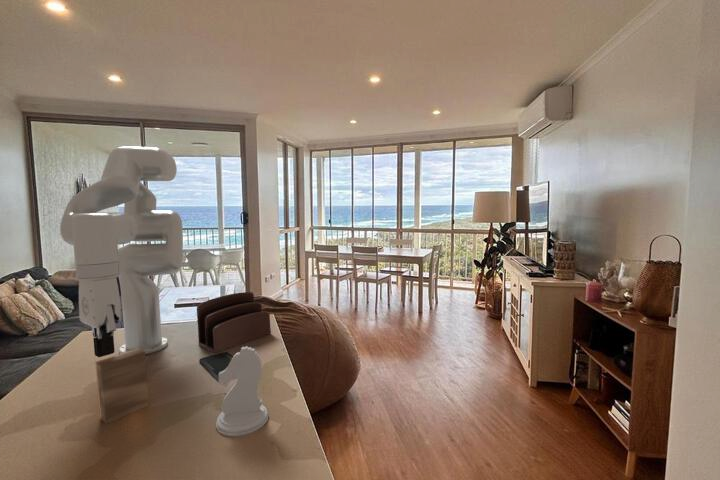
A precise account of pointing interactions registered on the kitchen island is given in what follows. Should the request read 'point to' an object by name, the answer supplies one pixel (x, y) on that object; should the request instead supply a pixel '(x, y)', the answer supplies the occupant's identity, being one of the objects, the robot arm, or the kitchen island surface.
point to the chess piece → (242, 395)
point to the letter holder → (231, 321)
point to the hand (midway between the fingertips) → (104, 354)
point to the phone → (216, 363)
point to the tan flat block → (122, 384)
